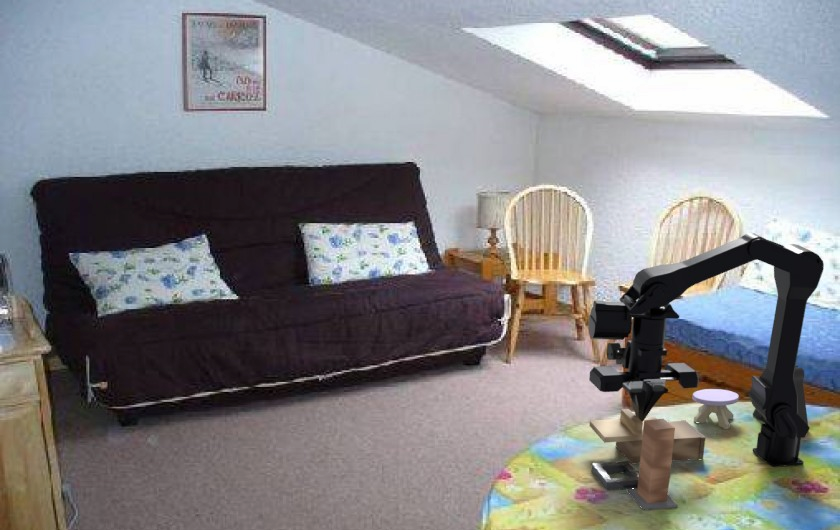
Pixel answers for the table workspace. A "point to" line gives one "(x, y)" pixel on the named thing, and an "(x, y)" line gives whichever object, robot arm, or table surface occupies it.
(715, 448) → the table surface
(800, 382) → the phone stand
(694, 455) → the tan boxy piece
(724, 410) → the toy table
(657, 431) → the brown rectangular block
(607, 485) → the socket
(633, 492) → the felt pad
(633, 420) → the lid
